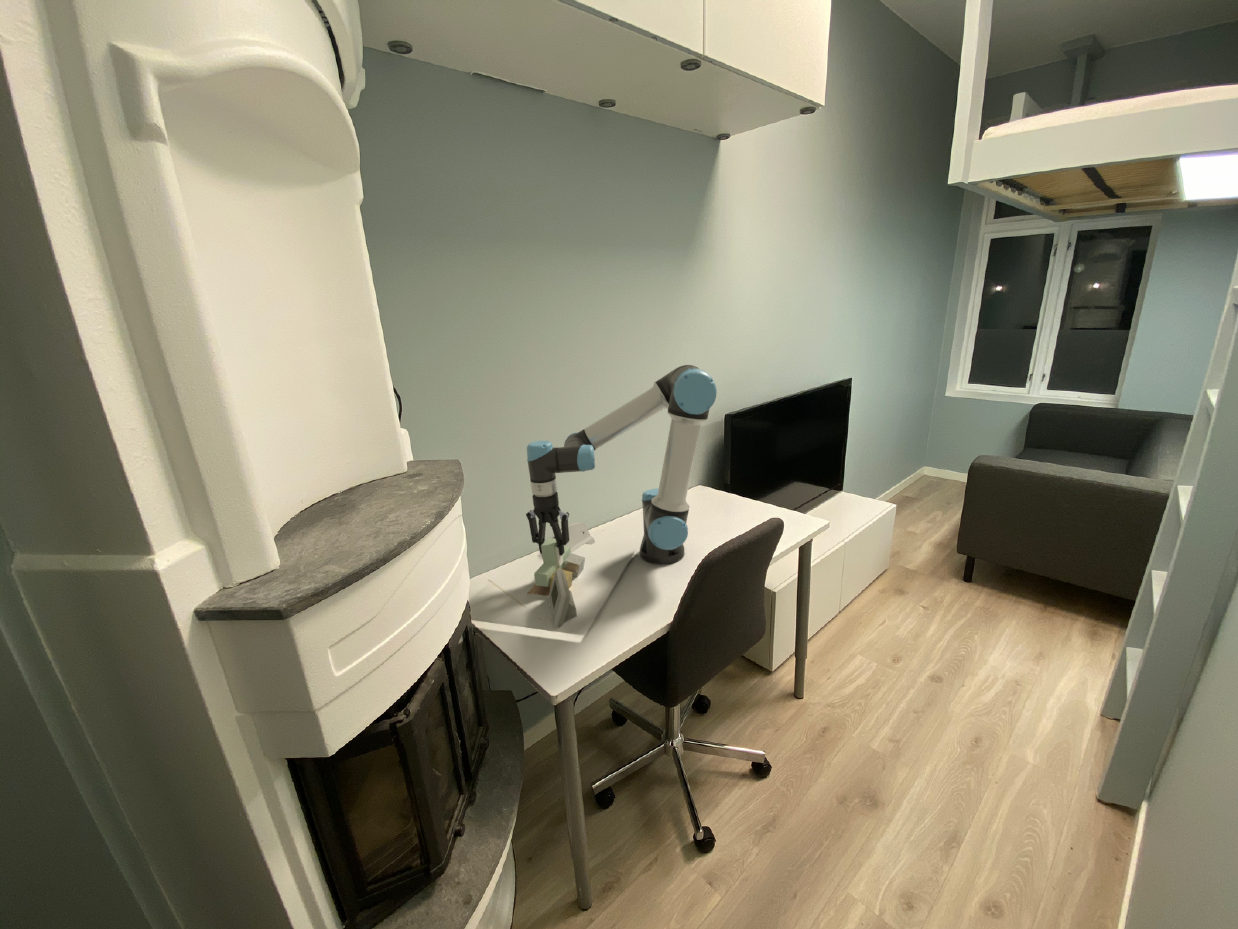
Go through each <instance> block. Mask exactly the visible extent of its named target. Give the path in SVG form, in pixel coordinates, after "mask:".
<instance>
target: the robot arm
mask: <svg viewBox="0 0 1238 929" xmlns="http://www.w3.org/2000/svg"><path fill="white" fill-rule="evenodd" d="M717 391H718V390H717V386H716V383H715V380H714V379H713V377H712V376H711V375H710V374H709V373H708V372H707V371H705V370H704V369H700V368H699V367H697V366H695V365H692V364H684V365H680V366H678V367H676V368H674V369H673V370H671V371H670V372H668V373H666V374H665V375H664V376H662V377H661V378H659V379H657V380H656V381H654V382H653V386H652V387H651V388H649V389H647V390H646V391H644V392H643V393H640V394H639V395H638V396H635V397H634V398H632V399H631V400H629V401H628V402H626V403H624V404H623V405H621V406H620V407H617V408H616V409H614V410H612V411H611V412H609V413H608V414H607V415H605V416H603V417H602V418H599V419H598V420H596V421H595V422H593V423H592V424H590V425H588V426H586V427H585V428H583V429H581V430H580V431H578V432H572V433H570V434H568V436H567V438H566V439H565V440H564V445H563V446H561V447H558V446H556V447H553V446H554V445H553V443H552V442H551V441H549V440H537V441H536V440H535V441H533V442H530V443H528V444H527V445H526V458H527V459H526V461H527V464H528V466H527V467H528V473H529V478H530V487H531V488H530V489H531V494H532V504H533V510H529V511H527V513H525V516H526V518H527V520H528V525H529V530H530V537H531V542H532V543H533V544H535V543H536V544H538V549H539V554H540V555H541V556H542V557H543V553H542V546H541V545H542V544H543V543H544V542H545V541H546V540H547V539H546V526H547V524H549V526H550V527H551V529H552V533H553V535H554V536H555V539H556V542H557V546H556V547H555V549H556V557H557V565H558V566H560V565H561V564H562V563H563V554H564V553H565V551H564V545H566V544H567V543H568V542H569V529H568V525H569V517H570V513H569V511H567V512H564V511H562V510H561V508H560V506H559V505H560V503H559V502H560V501H559V494H558V492H557V491H558V486H557V483H558V482H557V477H556V474H562V473H563V474H564V473H575V472H579V473H580V472H587V471H593V470H595V468H596V459H595V457H596V456H595V451H596V450H597V449H599V448H601V447H603V446H605V445H607V444H608V443H609V442H611V441H613V440H614V439H616V438H618V437H620V436H621V435H623V434H625V433H626V432H628V431H629V430H631V429H632V428H634V427H636V426H638V425H640V424H641V423H643V422H645V421H646V420H648V419H649V418H651V417H654V416H655V415H656V414H658V413H659V412H661V411H663V410H665V409H666V410H667V414H668V415H669V417H670V419H671V420H670V426H669V431H668V438H667V443H666V446H665V453H664V459H663V464H662V470H661V474H660V479H659V480H660V481H659V486H658V487H657V488H651V489H648V490H645V491H643V493H642V495H641V504H642V517H643V536H642V540H641V542H640V547H639V557H640V558H641V559H642V560H643V561H644V562H647V563H650V564H652V565H653V564H654V565H669V564H674V563H676V562H679V561H681V560H682V559H683V558H684V556H685V554H686V553H685V546H684V543H685V542H686V541H687V539H688V535H689V528H688V525H687V521H688V517H689V511H690V505H689V503H688V502H687V496H688V491H689V485H690V481H691V476H692V470H693V466H694V460H695V455H696V451H697V446H698V440H699V436H700V433H701V432H700V431H701V426H702V424H703V423H705V422H706V421H707V420H708V419H709V413H710V409H711V407H713V406H714V403H715V401H716V399H717V396H718V395H717V394H718V392H717ZM536 517H537V518H538V523H537V518H536ZM559 517H560V518H559ZM559 519H560V523H559ZM560 529H561V530H562V533H561V530H560ZM543 563H544V561H543V560H542V564H543Z"/></svg>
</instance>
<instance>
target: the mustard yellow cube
mask: <svg viewBox="0 0 1238 929" xmlns="http://www.w3.org/2000/svg"><path fill="white" fill-rule="evenodd" d="M557 570H558V568H557V569H556V571H557ZM561 570H562V569H561ZM556 571H555V572H556ZM563 571H564V573H565V576H566V580H567V584H568V588H569V589H570V588H572V586H573V585H572V584H573V577H572V575H573V572H570V571H566V570H563ZM555 572H554V573H553V574H552V575H551V577H550V590H551V586H552V583H553V579H554V576H555Z"/></svg>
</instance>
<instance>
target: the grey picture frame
mask: <svg viewBox="0 0 1238 929" xmlns="http://www.w3.org/2000/svg"><path fill="white" fill-rule="evenodd" d="M547 601H548V606H549V612H550V617H551V623H552V628H557V629H558V628H560V627H562V626H563V625H564V622H565V619H569V618H574V617H575V618H576V617H578V616H577V606H576V604H575V601H574V597H573V593H572V590H570V588H568V584H567V580H566V576H565V573H564V571H563V570H561V569H558V570H557V571H556V572H555V576H554V579H553V583H552V586H551V590H550V594H549V596H547Z"/></svg>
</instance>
